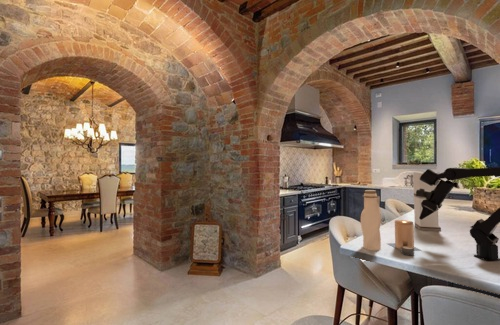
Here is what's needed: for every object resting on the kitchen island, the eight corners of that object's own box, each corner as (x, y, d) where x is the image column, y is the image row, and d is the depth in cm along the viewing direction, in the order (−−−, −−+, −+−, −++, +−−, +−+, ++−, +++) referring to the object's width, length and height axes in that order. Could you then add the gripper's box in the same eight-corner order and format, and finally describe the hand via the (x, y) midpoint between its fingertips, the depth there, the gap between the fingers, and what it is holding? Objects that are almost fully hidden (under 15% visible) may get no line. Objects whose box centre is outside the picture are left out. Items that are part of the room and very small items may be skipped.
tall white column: (440, 231, 154) (439, 172, 154) (420, 229, 157) (418, 172, 157) (433, 226, 164) (432, 171, 165) (414, 225, 168) (413, 171, 168)
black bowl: (416, 256, 113) (416, 249, 113) (406, 256, 113) (405, 249, 113) (409, 252, 118) (409, 245, 118) (399, 253, 118) (398, 246, 118)
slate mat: (422, 251, 119) (422, 250, 119) (401, 252, 119) (401, 251, 119) (405, 243, 131) (405, 242, 131) (386, 244, 131) (386, 243, 131)
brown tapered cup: (417, 250, 120) (417, 223, 120) (402, 250, 119) (401, 223, 120) (406, 245, 128) (406, 219, 128) (392, 245, 127) (391, 220, 127)
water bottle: (365, 243, 132) (363, 189, 133) (384, 246, 127) (383, 189, 127) (359, 248, 125) (357, 190, 125) (379, 252, 119) (377, 191, 119)
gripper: (426, 182, 134) (409, 207, 138) (420, 182, 120) (401, 209, 125) (450, 194, 127) (431, 220, 132) (446, 196, 113) (425, 224, 118)
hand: (421, 218), depth 127 cm, fingers open, 9 cm apart
